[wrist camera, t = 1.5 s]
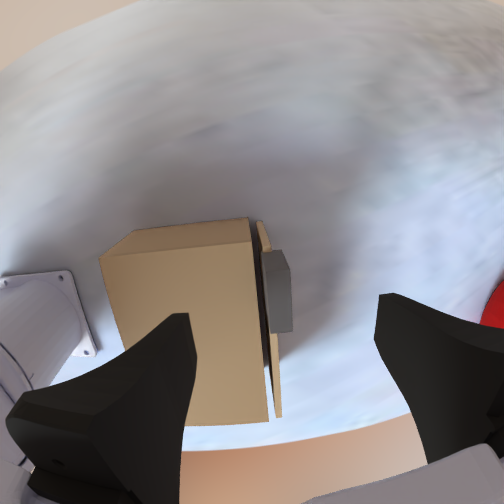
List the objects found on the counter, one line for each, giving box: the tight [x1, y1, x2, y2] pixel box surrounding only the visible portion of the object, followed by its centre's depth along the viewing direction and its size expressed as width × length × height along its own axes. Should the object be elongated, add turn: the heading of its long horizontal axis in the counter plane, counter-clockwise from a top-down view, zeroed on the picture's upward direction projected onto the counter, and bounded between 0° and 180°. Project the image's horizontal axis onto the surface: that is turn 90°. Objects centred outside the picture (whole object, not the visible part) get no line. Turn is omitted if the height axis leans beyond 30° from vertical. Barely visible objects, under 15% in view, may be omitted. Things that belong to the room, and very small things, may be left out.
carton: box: [99, 217, 269, 426], centre depth 19 cm, size 8×13×6 cm, turn 5°
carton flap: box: [256, 221, 293, 418], centre depth 18 cm, size 1×12×8 cm, turn 5°
